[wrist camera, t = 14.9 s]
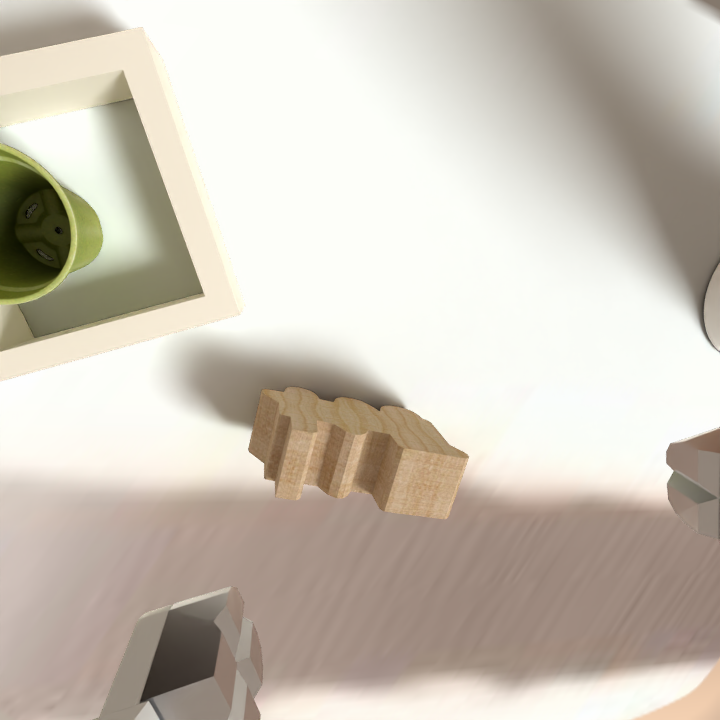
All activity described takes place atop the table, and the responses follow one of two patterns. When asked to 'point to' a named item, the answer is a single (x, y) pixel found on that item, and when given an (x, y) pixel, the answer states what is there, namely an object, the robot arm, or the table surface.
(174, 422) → the table surface
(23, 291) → the plant pot
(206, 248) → the cream open tray
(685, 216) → the table surface
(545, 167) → the table surface
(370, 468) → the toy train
